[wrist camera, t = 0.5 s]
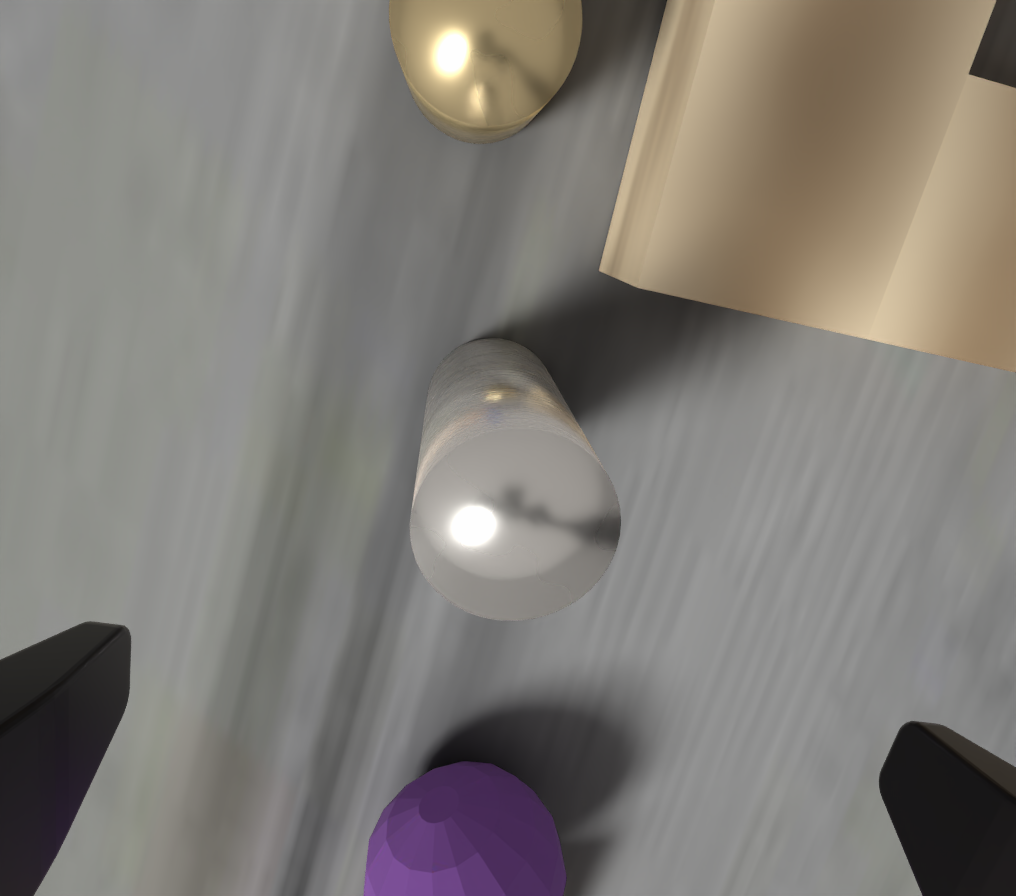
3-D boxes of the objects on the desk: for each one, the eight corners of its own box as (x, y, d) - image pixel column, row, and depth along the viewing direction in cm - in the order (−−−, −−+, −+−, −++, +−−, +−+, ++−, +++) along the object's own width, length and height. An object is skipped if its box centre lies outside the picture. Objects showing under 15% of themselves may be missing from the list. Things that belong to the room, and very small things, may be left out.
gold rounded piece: (568, -1, 16) (604, -65, 12) (534, 158, 17) (556, 145, 13) (418, -43, 16) (406, -123, 12) (392, 124, 17) (374, 100, 13)
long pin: (568, 352, 19) (645, 450, 11) (538, 471, 20) (591, 634, 12) (440, 326, 18) (430, 410, 11) (416, 449, 19) (393, 604, 12)
